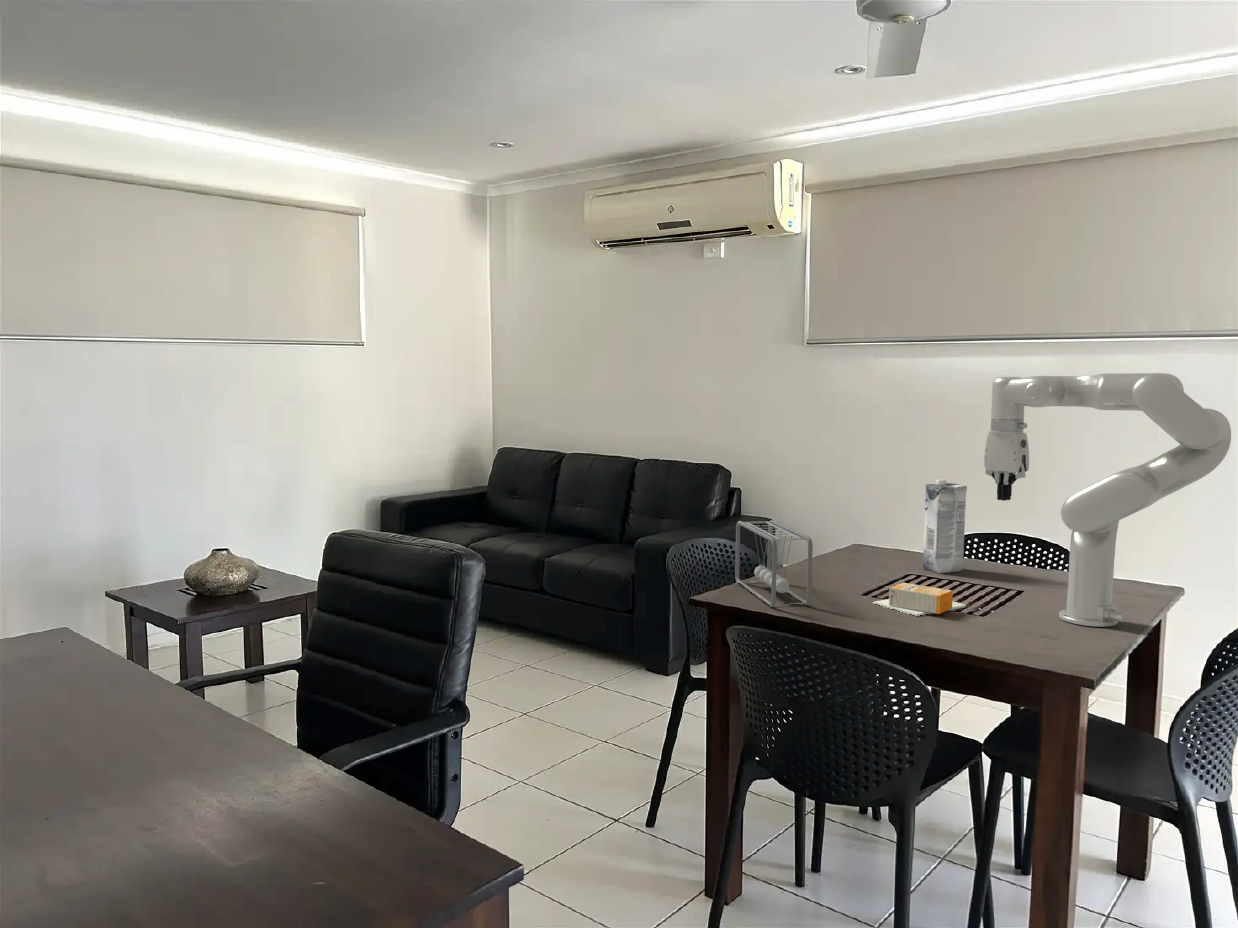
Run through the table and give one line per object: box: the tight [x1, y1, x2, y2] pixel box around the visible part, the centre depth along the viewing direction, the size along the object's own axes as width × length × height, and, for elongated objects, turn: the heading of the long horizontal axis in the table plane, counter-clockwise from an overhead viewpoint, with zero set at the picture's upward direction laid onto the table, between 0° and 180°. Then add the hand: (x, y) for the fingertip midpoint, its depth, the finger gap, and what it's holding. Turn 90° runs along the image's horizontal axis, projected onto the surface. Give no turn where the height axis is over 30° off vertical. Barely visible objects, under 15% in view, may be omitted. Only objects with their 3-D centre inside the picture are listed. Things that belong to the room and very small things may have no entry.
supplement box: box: [888, 582, 954, 615], centre depth 229 cm, size 8×5×13 cm
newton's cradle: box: [734, 519, 814, 607], centre depth 244 cm, size 30×10×18 cm, turn 11°
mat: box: [872, 598, 967, 617], centre depth 234 cm, size 14×18×1 cm
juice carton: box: [922, 479, 968, 574], centre depth 274 cm, size 9×10×27 cm
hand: (1003, 499), depth 231 cm, fingers closed
